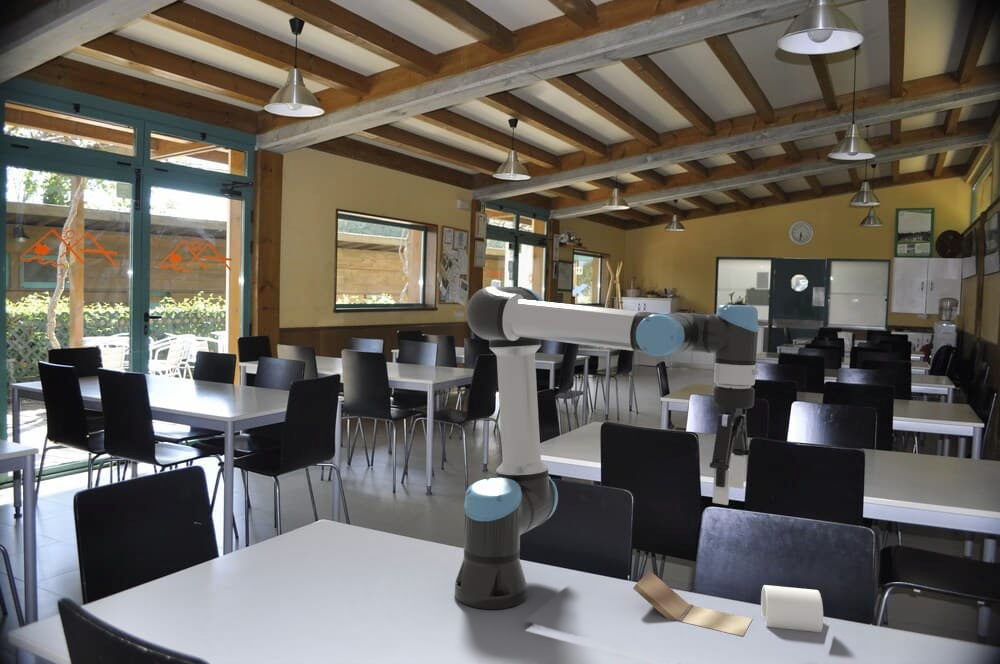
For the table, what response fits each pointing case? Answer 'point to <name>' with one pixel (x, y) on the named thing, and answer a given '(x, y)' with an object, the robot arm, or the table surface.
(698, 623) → the floorboard
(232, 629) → the table surface
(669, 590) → the plank
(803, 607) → the mug
